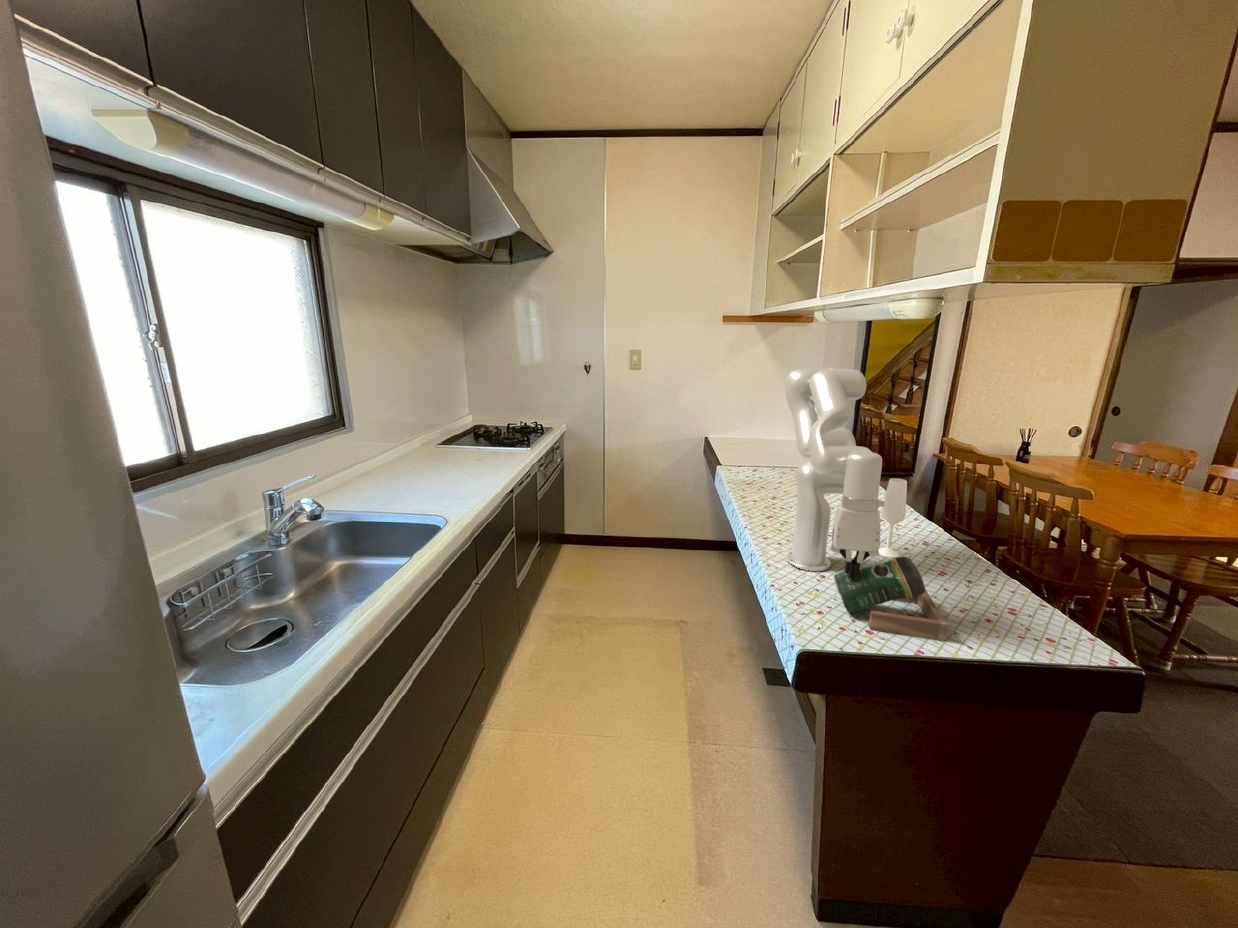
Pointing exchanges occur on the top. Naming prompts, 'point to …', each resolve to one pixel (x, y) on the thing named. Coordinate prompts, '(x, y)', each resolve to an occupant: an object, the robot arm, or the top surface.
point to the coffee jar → (880, 584)
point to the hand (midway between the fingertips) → (851, 575)
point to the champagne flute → (893, 510)
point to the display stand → (913, 620)
